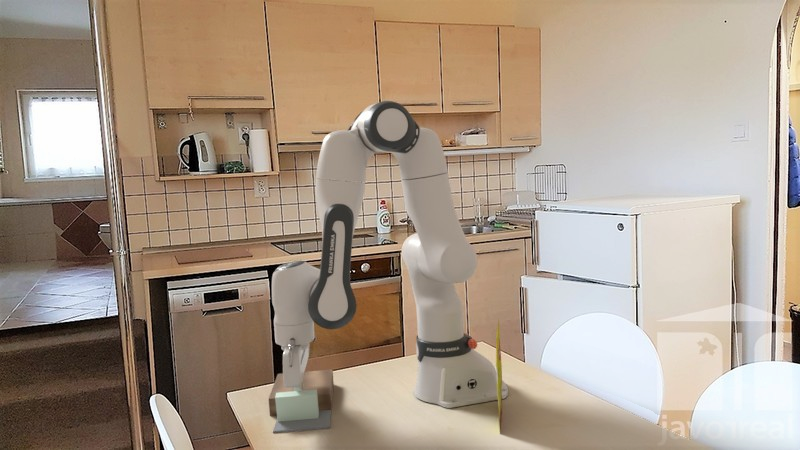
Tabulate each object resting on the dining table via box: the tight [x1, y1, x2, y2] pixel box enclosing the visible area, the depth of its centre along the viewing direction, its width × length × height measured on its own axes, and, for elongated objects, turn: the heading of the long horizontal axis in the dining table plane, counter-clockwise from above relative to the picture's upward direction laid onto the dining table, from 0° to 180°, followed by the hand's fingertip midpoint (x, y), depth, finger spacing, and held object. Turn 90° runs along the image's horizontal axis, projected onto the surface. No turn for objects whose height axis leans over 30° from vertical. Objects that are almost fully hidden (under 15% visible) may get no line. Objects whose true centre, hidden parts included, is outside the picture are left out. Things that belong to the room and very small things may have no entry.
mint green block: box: [275, 390, 319, 422], centre depth 127 cm, size 9×6×2 cm
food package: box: [495, 319, 503, 431], centre depth 122 cm, size 15×1×20 cm, turn 168°
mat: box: [272, 409, 332, 434], centre depth 126 cm, size 12×8×1 cm
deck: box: [268, 369, 335, 417], centre depth 139 cm, size 14×16×4 cm
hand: (298, 391), depth 130 cm, fingers closed
